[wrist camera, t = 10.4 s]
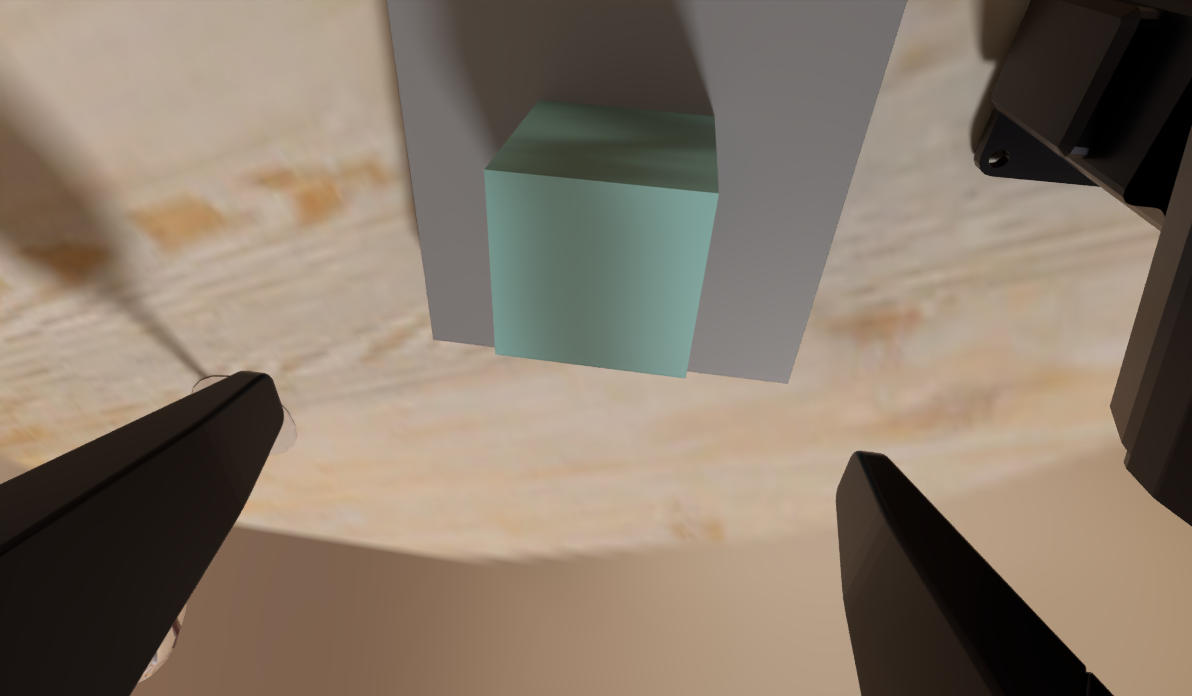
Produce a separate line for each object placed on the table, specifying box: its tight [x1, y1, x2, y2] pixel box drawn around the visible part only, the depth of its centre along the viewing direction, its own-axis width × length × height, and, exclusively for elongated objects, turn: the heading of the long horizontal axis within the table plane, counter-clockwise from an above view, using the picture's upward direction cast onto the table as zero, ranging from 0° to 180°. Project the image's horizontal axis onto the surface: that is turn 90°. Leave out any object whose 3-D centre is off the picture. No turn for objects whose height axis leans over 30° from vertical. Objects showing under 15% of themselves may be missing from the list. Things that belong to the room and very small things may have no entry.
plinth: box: [387, 0, 907, 384], centre depth 18 cm, size 12×12×2 cm
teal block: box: [484, 100, 719, 378], centre depth 15 cm, size 4×4×5 cm
